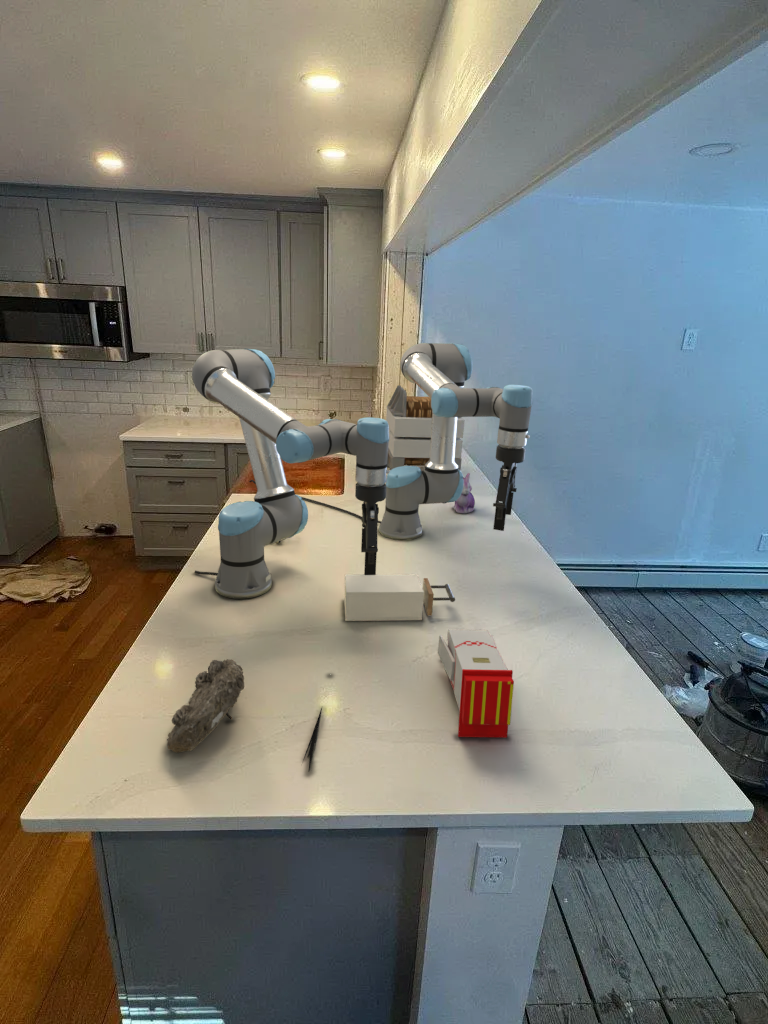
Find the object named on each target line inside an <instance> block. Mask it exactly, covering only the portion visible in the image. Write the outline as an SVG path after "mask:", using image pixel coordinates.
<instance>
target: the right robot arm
mask: <svg viewBox="0 0 768 1024" xmlns="http://www.w3.org/2000/svg"><path fill="white" fill-rule="evenodd" d="M399 367H400V368H399V369H400V371H401V374H402V375H403V377H404V379H406V380H407V382H410V383H412V384H415V385H417V386H418V387H419V388H420V390H422V391H423V392H424V394H426V395H427V397H430V398H431V407H432V426H431V443H430V460H429V461H428V462H427V463H426V464H425V466H424V470H422V469H421V467H420V466H407V465H404V466H400V467H396V468H394V469H392V470H390V469H389V471H390V472H389V474H386V475H387V481H386V483H385V484H386V498H385V504H384V505H385V507H384V508H385V509H384V513H383V515H382V519H381V520H378V524H379V526H378V533H379V534H380V535H381V536H382V537H385V538H387V539H389V540H395V541H410V540H415V539H418V538H420V537H421V536H422V535H423V525H422V524H421V518H420V515H419V507H420V505H429V504H430V505H431V504H448V503H455V501H456V500H457V499H458V498H459V497H460V496H461V493H462V490H463V485H464V480H463V477H464V475H463V472H462V470H461V471H460V470H458V465H457V464H456V463H455V462H454V458H455V444H456V430H457V417H461V418H485V417H488V418H490V417H493V418H497V419H499V421H498V422H499V423H498V430H497V438H496V443H497V444H498V445H496V450H495V459H496V460H497V461H498V462H502V463H503V464H502V465H501V467H500V468H499V478H498V486H497V490H496V491H497V492H496V497H495V502H493V503H492V507H495V511H494V519H493V528H492V530H494V531H499V532H500V531H501V532H504V531H505V525H506V516H511V515H512V511H513V510H512V509H513V501H514V493H517V488H516V476H517V471H518V466H517V464H521V463H524V462H525V459H526V451H527V448H526V446H527V441H528V439H530V437H531V435H529V434H528V433H529V428H530V420H531V413H532V406H533V393H534V391H533V388H532V387H531V386H528V385H522V384H506V385H504V387H503V388H501V387H499V386H487V387H484V388H483V387H482V388H481V387H479V388H476V387H475V388H472V387H471V388H470V387H465V382H467V381H469V380H470V379H471V377H472V374H473V359H472V355H471V352H470V350H469V348H468V347H467V346H466V345H464V344H458V343H435V342H430V343H429V342H420V343H417V344H414V345H411V346H410V347H408V348H407V349H406V350H405V351H404V353H403V354H402V356H401V359H400V363H399ZM248 482H249V483H253V484H254V485H256V483H255V479H250V480H249V481H248ZM300 497H301V498H302V500H303V501H307V502H311V503H315V504H318V505H322V506H324V507H328V508H332V509H334V510H338V511H340V512H342V513H346V514H348V515H352V516H354V517H357V518H358V519H361V520H362V515H359V514H357V513H355V512H352V511H349V510H347V509H343V508H341V507H338V506H334V505H331V504H328V503H325V502H321V501H317V500H314V499H311V498H307V497H305V496H300Z"/></svg>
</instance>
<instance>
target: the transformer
mask: <svg viewBox="0 0 768 1024" xmlns="http://www.w3.org/2000/svg"><path fill="white" fill-rule="evenodd" d="M407 394H408V393H407V390H406V389H404V388H403V387H402V385H399V384H398V385H397V386H396V388H395V390H394V392H393V394H392V395H391V398H390V400H389V402H388V404H387V405H386V413H385V414H386V415H385V420H386V421H387V422H388V424H389V445H388V457H387V468H389V471H390V470H392V469H394V468H396V467H400V466H416V467H425V464H426V463H427V462H428V461H429V460H430V443H431V426H432V407H431V398H430V397H429V396H415V395H414V396H413V395H412V396H411V395H407ZM464 429H465V419H464V418H463V417H457V430H456V444H455V458H454V462H455V463H456V464H457V465H458V470H460V471H461V472H462V461H463V460H462V453H463V442H464V441H463V440H462V439H463V438H464V431H465V430H464Z"/></svg>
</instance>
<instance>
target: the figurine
mask: <svg viewBox="0 0 768 1024" xmlns="http://www.w3.org/2000/svg"><path fill="white" fill-rule="evenodd" d="M470 478H471V473H470V472H467V474H466V475H465V476H463V480H464V485H463V490H462V493H461V496H460V497H459V498H458V499H457V500H456V501H455V502H454V504H453V509H454V511H455V512H456V513H458V514H467V513H469V514H470V513H472V512H473V511H474V509H475V505H476V501H475V497H474V494H473V493H472V490H473V488H472V485H471V482H470Z"/></svg>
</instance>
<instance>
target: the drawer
mask: <svg viewBox="0 0 768 1024" xmlns="http://www.w3.org/2000/svg"><path fill="white" fill-rule="evenodd" d="M422 579H423V580H422V588H423V591H424V596H423V606H424V610H425V612H426V615H427V617H429V616H430V617H431V616H433V606H434V602H436V601H437V602H438V601H441V602H443V601H450V602H451V603H454V602H455V601H456V598H455V595H454V593H453V591H452V588H451V585H450V584H449V583H445V584H443V585H442V584H441V585H431V583H430V581H429V578H428V577H424V578H422ZM433 589H445V592H446V594H447V597H434V595H435V594H434V591H433Z"/></svg>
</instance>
